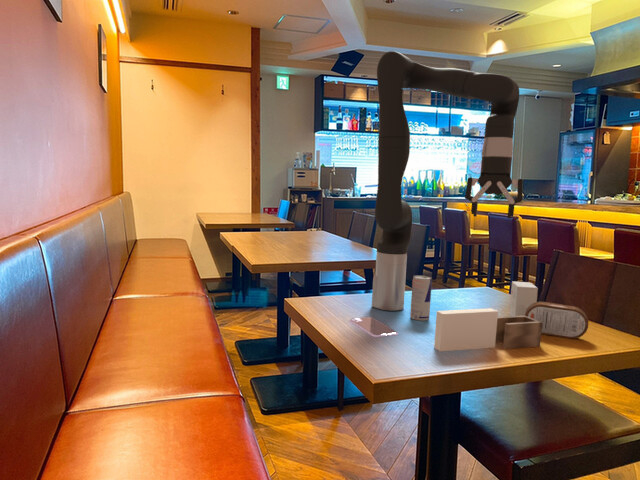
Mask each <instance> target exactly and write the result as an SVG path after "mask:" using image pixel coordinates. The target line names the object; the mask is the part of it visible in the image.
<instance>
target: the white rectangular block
mask: <svg viewBox="0 0 640 480" xmlns="http://www.w3.org/2000/svg"><path fill="white" fill-rule="evenodd" d="M498 317H499V310H496V309H494V308H492V307H491V308H490V307H489V308H471V309H469V308H468V309H452V310H450V309H448V310H436V319H435V331H434V332H435V333H434V344H433V345H434V346H433V348H434V349H435V350H437V351H438V352H450V351H451V352H452V351H453V352H454V351H463V350H477V349H490V348H491V349H492V348H495V347H496V342H495V340H496V329H497V318H498Z"/></svg>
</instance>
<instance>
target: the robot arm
mask: <svg viewBox="0 0 640 480" xmlns="http://www.w3.org/2000/svg"><path fill="white" fill-rule="evenodd" d="M376 78H377V79H376V80H377V81H376V82H377V91H378V92H377V93H378V135H377V136H378V139H377V153H378V154H377V155H378V161H377V162H378V163H377V164H378V165H377V167H378V168H377V175H378V176H377V179H378V180H377V192H376V199H375V206H374V218H375V221H376V224H377V226H378V227H379V228H380V229H381V230H382V232H381V233H382V235H381V237H380V239H379V241H378V242H377V244H376V257H375V260H376V261H375V275H373V277H372V291H371V292H372V294H371V295H372V297H371V307H372V308H376V309H378V310H382V311H388V312H389V311H391V312H392V311H394V312H396V311H402V310H403V309H404V307H405V293H406V292H405V290H406V279H407V278H406V277H407V275H406V274H407V260H408V248H409V245H410V243H411V238H412V237H411V236H412V228H413V227H412V226H413V211H412V207H411V206H410V204H409V203H408V202H407V201H406V200H403V199H402V183H403V178H404V174H405V171H406V168H407V165H408V162H409V158H410V149H411V147H410V146H411V144H410V142H411V131H410V127H409V121H408V118H407V113H406V112H405V107H404V101H403V93H404V91H403V89H418V90H425V91H433V92H436V93H440V94H445V95H448V96H453V97H458V98H462V99H468V100H475V99H477V100H481V101H484V102H487V103H488V102H489V103H491V107H490V114H489V116H488V117H487V118H486V121H485V126H484V127H485V129H484V138H483V139H484V140H483V143H482V150H481V161H480V163H481V164H480V175H479V178H475V177H471V176H470V177H468V178H467V180H466V181H467V182H466V186H465V187H466V188H465V195H464V199H465V200H467V201H470V202H471V209H470V213H471V215H473V217H477V216H478V205H479V202H478V200H479V199H480V198H481V197H483V195H484V194H486V195H497V196H500V195H503V196H504V197H505V199H506V200H507V201H508V202H509V204H508V209H507V219H510V220H511V217H512V218H513V217H514V214H515V213H514V212H515V206H516V204H518V203H522V202H523V196H524V195H523V192H524V191H523V186H524V184H523V183H524V180H523V178H522V179H521V178H519V179H512V177H511V175H512V174H511V173H512V164H513V155H514V141H513V140H514V129H515V118H516V115H517V111H518V107H519V102H520V87H519V85H518V83H517V82H516V81H515V80H513V79H512V78H511V77H510V76H508V75H504V74H499V73H490V72H477V71H472V70H467V69H461V68H454V67H433V66H427V65H424V64H421V63H419V62H416V61H414V60H411V58H409V57H408V56H407V55H404V54H402V52H401V53H400V52H398V51H395V50H389V51H387V52H385V53H384V54H382V55H381V57H380V59H379V61H378V63H377V68H376ZM477 183H478V185H479V187H480V189H479V190H478V191H477V193H476V194H475V195H474V196H472V190H473V187H474V186H475V185H476V184H477ZM512 184H513V185H514V186H513V187H515V188H517V198H513V196H512V195H511V193H510V192H509V191H508V190H507V189H509V187H511V185H512Z"/></svg>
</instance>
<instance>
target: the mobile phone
mask: <svg viewBox="0 0 640 480" xmlns="http://www.w3.org/2000/svg"><path fill="white" fill-rule="evenodd" d="M348 321H349V322H350V323H351V324H353V326H355V327H357V328H358V329H360V330H362V331H364V332H365V333H366V334H368V335H369V336H371V337H374V338H382V337H391V336H392V337H393V336H398V335H399V332H398V331H397V330H395V329H393V328H391V327H389V326H388V325H386V324H384V323H383V322H381V321H380V320H377V319H375V318H374V317H371V316H367V317H353V318H349V320H348Z"/></svg>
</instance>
